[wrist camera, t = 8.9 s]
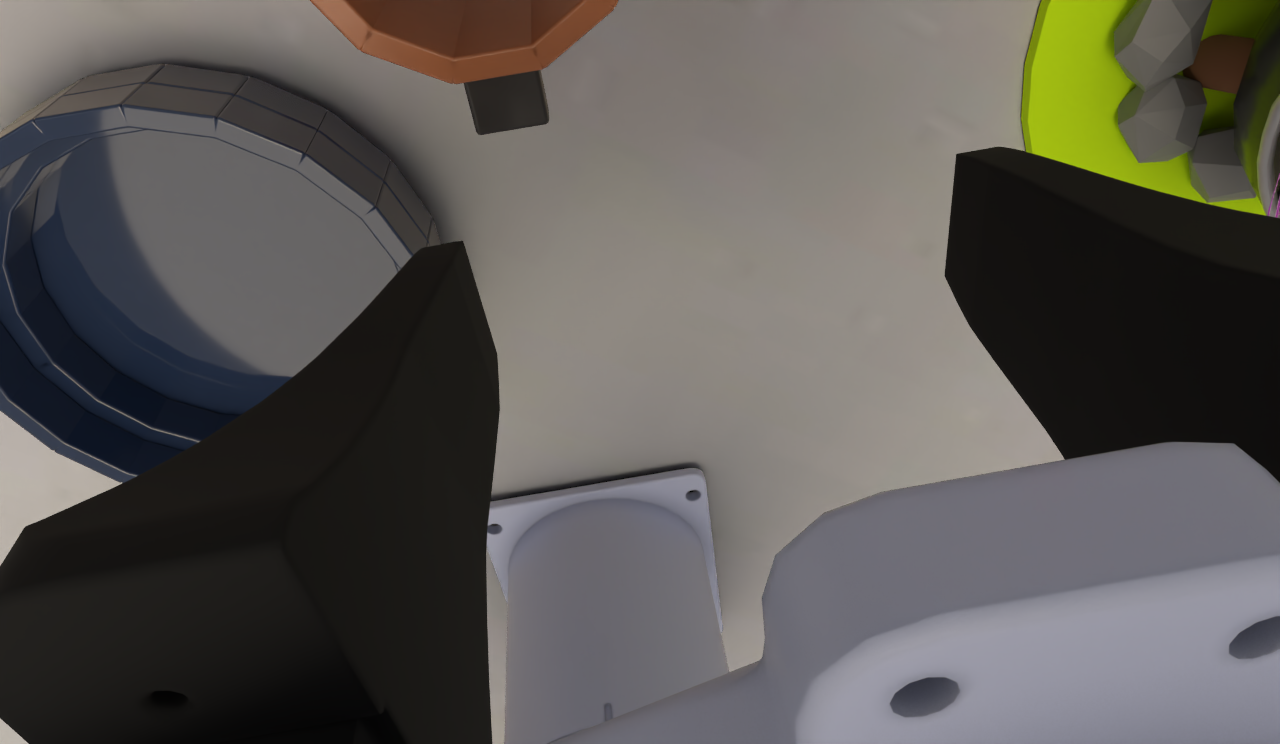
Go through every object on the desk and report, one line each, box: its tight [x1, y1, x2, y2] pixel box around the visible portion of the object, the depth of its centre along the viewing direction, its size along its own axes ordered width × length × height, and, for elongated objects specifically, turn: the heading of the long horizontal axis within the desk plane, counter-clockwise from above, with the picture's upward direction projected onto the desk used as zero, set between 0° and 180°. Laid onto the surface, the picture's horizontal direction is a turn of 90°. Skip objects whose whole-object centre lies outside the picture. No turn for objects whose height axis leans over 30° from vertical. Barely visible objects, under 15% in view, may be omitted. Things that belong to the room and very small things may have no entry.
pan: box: [0, 63, 441, 483], centre depth 22 cm, size 11×11×3 cm
